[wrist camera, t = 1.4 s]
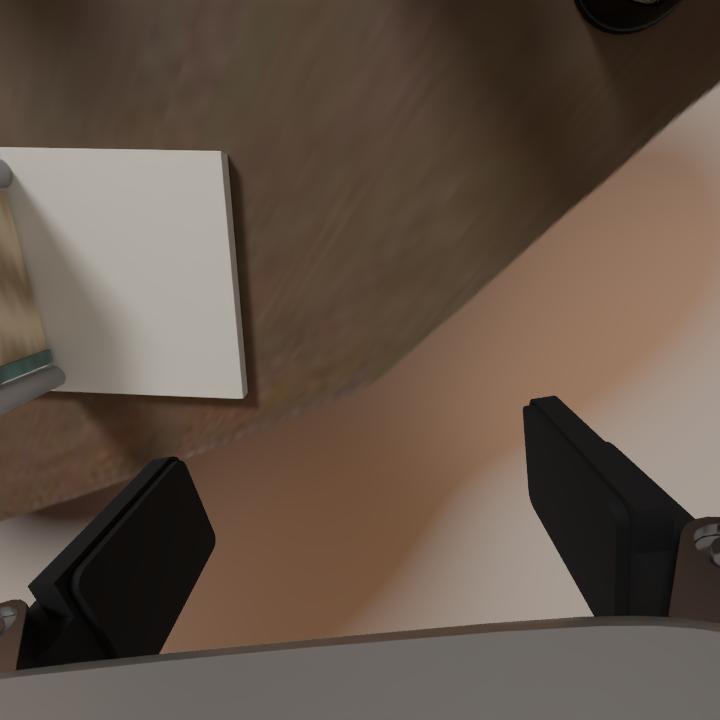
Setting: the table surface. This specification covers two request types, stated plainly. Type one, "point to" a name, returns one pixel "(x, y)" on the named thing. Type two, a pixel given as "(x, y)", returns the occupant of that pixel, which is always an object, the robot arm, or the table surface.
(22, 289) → the beige wavy patterned slab
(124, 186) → the white base with posts
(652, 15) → the french press
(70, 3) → the table surface
